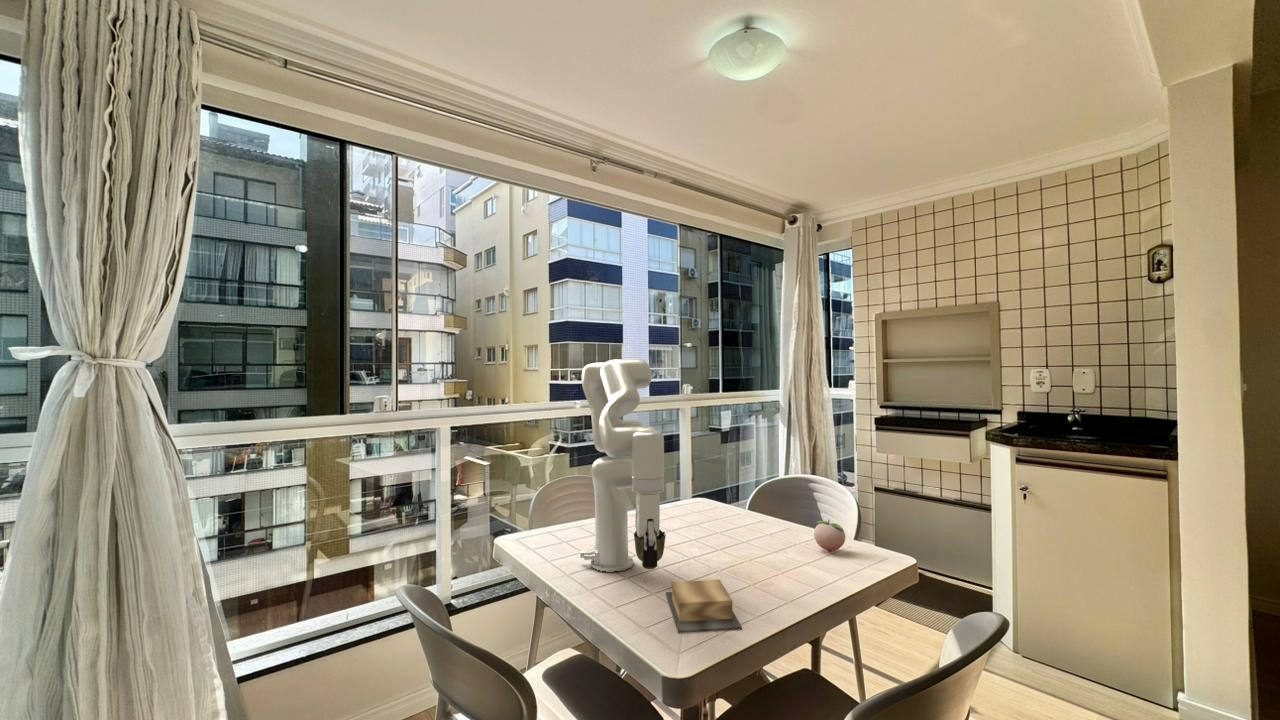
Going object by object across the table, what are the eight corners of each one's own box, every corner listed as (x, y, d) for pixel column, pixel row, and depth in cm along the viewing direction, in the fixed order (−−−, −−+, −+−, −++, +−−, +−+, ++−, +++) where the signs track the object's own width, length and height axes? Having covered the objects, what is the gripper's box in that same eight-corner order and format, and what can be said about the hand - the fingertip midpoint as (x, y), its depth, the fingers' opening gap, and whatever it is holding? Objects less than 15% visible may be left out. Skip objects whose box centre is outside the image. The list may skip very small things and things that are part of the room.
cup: (632, 561, 123) (632, 528, 123) (663, 560, 124) (663, 527, 124) (635, 574, 116) (635, 538, 116) (667, 573, 117) (667, 538, 117)
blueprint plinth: (678, 632, 110) (677, 611, 110) (665, 593, 130) (665, 575, 130) (742, 629, 111) (741, 608, 111) (720, 591, 131) (719, 573, 131)
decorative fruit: (809, 552, 158) (808, 520, 159) (819, 545, 164) (818, 514, 165) (840, 559, 152) (839, 525, 152) (849, 552, 158) (848, 519, 159)
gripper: (629, 476, 128) (630, 547, 128) (634, 494, 111) (635, 576, 111) (659, 475, 129) (660, 546, 129) (669, 493, 111) (669, 575, 111)
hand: (648, 559), depth 120 cm, fingers closed on cup, 6 cm apart
